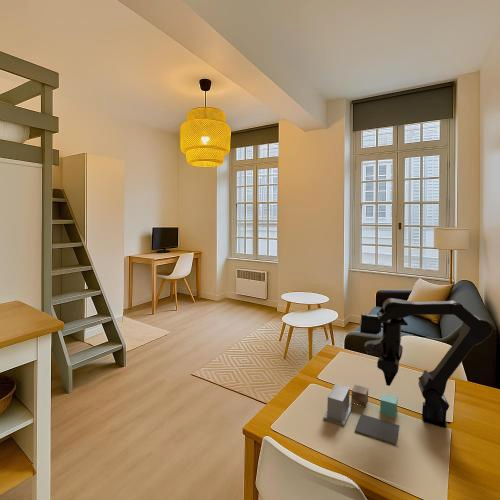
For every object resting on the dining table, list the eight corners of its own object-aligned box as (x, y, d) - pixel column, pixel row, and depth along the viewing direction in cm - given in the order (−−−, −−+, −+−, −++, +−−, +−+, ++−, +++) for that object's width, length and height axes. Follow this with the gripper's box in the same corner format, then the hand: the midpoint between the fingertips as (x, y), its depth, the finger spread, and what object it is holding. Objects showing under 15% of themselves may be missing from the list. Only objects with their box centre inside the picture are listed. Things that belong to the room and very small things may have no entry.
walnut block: (367, 400, 118) (368, 388, 117) (365, 407, 114) (365, 394, 113) (354, 397, 120) (354, 384, 120) (351, 403, 116) (351, 390, 116)
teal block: (396, 410, 112) (397, 397, 112) (395, 418, 108) (396, 404, 107) (381, 406, 115) (382, 393, 114) (379, 413, 110) (380, 399, 110)
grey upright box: (352, 407, 113) (353, 386, 113) (344, 426, 103) (345, 403, 102) (332, 402, 117) (333, 381, 116) (323, 419, 107) (323, 397, 106)
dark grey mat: (399, 426, 103) (399, 425, 103) (396, 445, 95) (396, 443, 94) (360, 415, 109) (360, 413, 109) (354, 431, 100) (354, 430, 100)
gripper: (371, 324, 121) (369, 363, 122) (361, 340, 105) (360, 385, 106) (403, 329, 115) (401, 370, 117) (398, 347, 99) (396, 394, 100)
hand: (389, 379), depth 110 cm, fingers open, 9 cm apart
